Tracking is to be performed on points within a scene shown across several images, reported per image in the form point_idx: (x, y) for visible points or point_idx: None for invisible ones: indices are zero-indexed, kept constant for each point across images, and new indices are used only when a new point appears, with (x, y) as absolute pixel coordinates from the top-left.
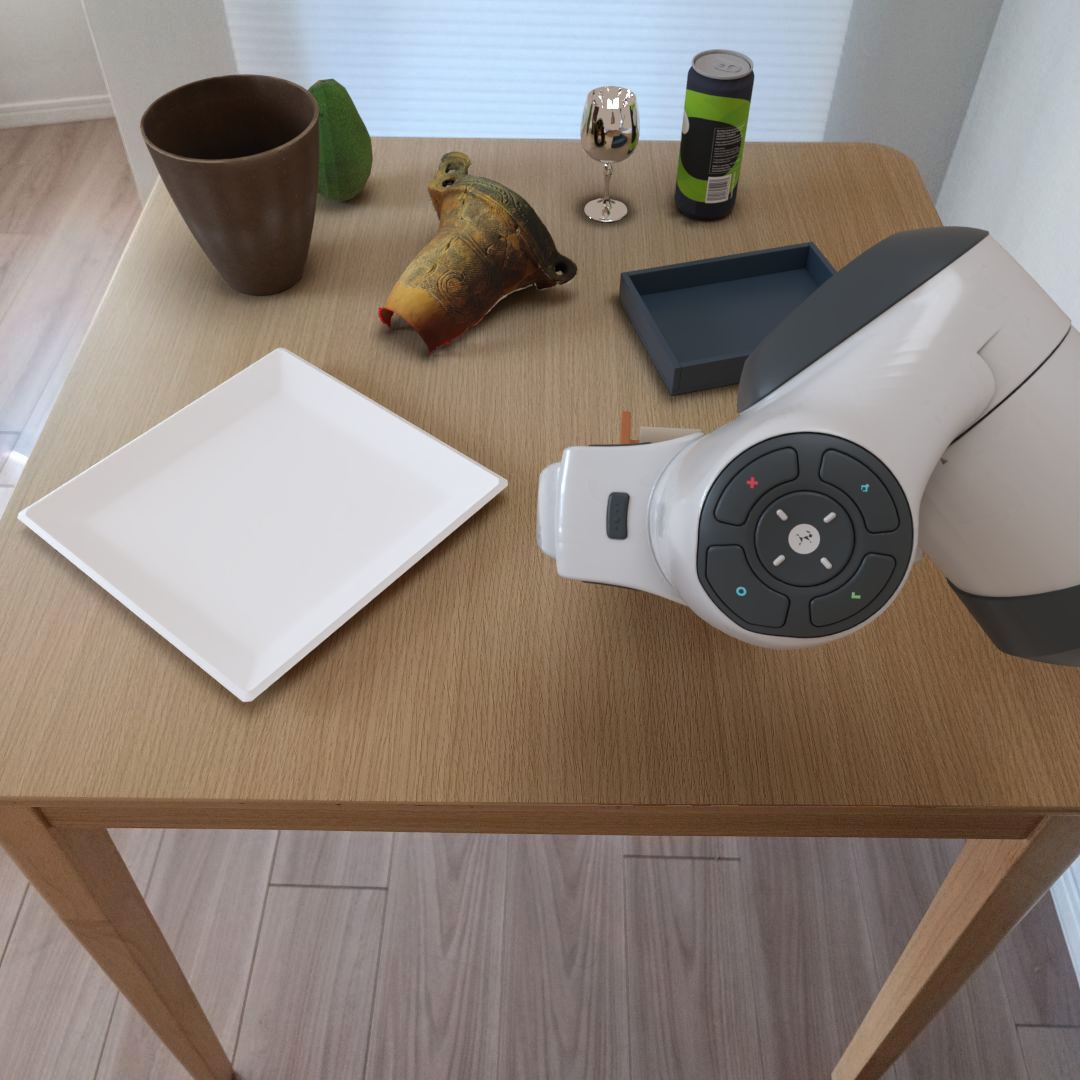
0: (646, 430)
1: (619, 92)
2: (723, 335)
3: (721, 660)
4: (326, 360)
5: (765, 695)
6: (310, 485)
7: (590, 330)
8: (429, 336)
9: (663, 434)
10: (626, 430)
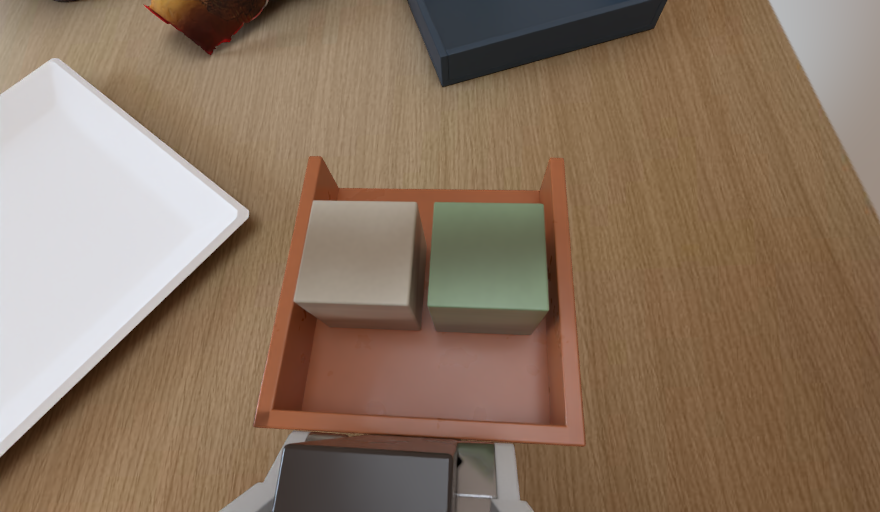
0: (320, 210)
1: None
2: (498, 13)
3: None
4: (113, 67)
5: None
6: (56, 221)
7: (369, 17)
8: (198, 35)
9: (349, 217)
10: (308, 195)
